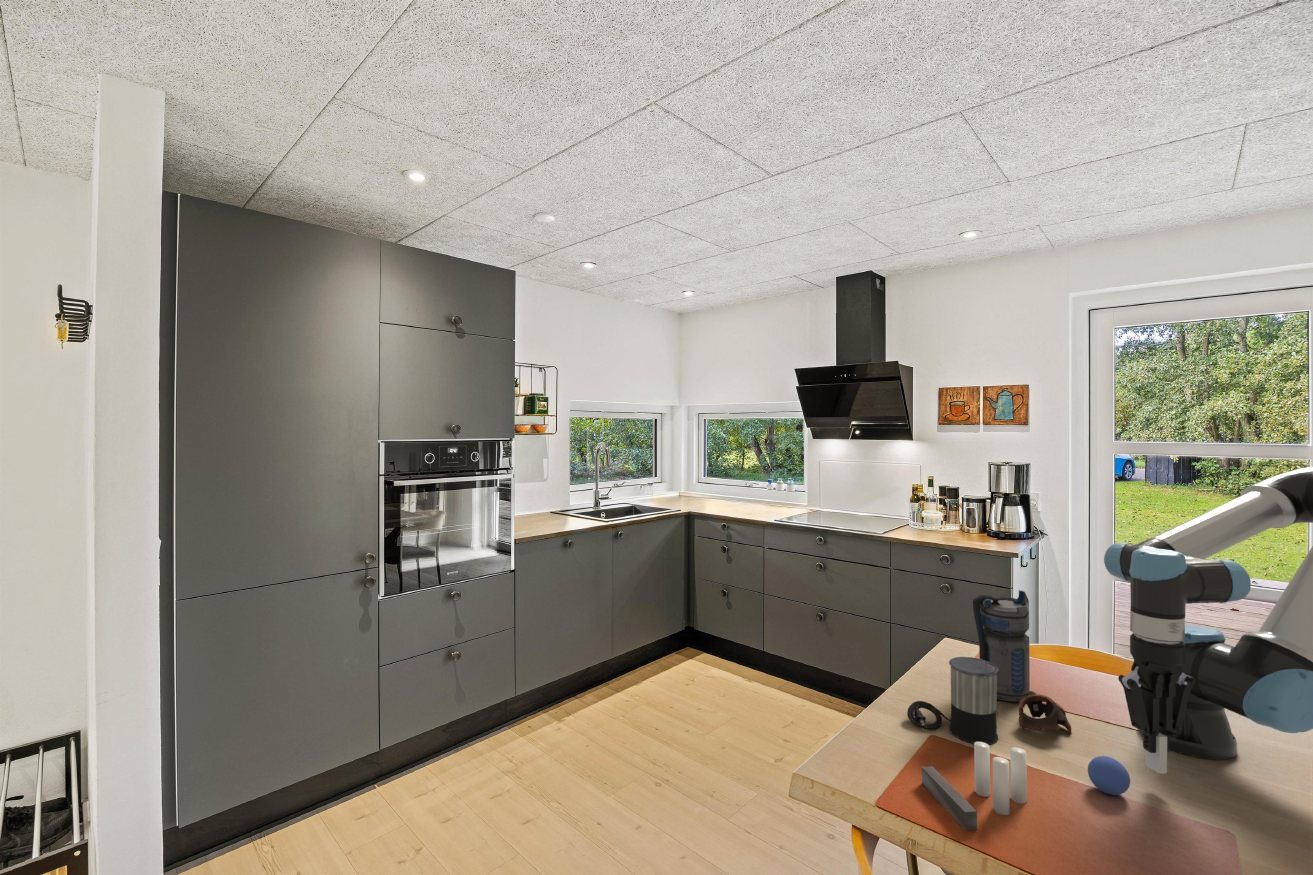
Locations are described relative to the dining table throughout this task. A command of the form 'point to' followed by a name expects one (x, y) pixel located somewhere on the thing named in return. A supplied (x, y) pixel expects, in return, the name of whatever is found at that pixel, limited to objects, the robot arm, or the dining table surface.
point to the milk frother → (966, 702)
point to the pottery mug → (1037, 708)
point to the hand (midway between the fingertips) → (1155, 768)
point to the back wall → (949, 798)
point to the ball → (1108, 775)
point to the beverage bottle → (1005, 642)
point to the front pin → (1018, 775)
